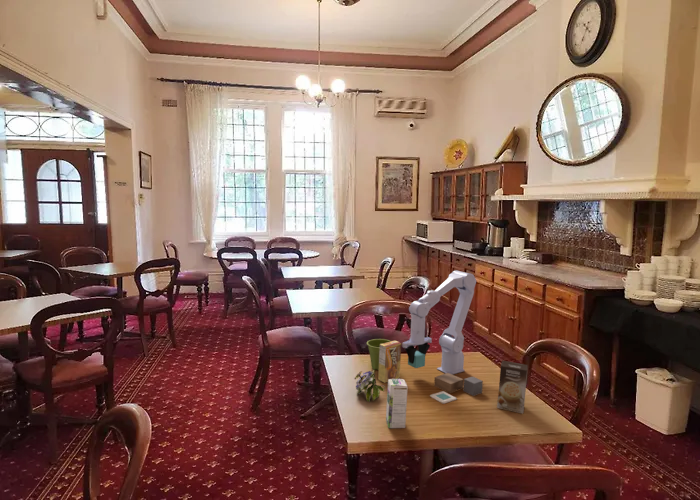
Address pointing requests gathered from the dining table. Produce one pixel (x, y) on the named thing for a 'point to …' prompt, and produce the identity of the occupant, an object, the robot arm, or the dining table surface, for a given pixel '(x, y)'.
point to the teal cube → (418, 360)
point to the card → (443, 397)
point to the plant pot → (375, 351)
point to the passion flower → (365, 382)
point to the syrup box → (396, 403)
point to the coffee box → (512, 386)
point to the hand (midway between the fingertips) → (416, 361)
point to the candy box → (389, 361)
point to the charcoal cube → (473, 386)
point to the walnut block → (448, 382)
